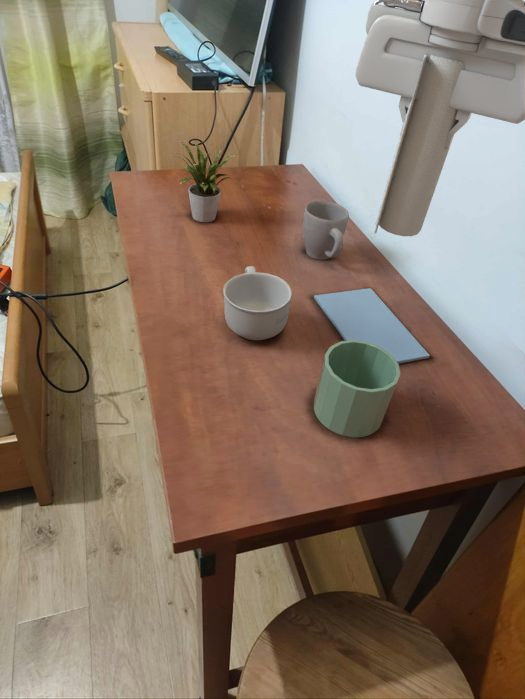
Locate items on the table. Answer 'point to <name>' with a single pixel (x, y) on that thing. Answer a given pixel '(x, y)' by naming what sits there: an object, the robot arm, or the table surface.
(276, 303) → the teacup
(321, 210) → the mug
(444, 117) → the paper towel roll
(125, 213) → the table surface
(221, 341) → the table surface
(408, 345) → the mat
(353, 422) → the sage green pencil cup
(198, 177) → the house plant
